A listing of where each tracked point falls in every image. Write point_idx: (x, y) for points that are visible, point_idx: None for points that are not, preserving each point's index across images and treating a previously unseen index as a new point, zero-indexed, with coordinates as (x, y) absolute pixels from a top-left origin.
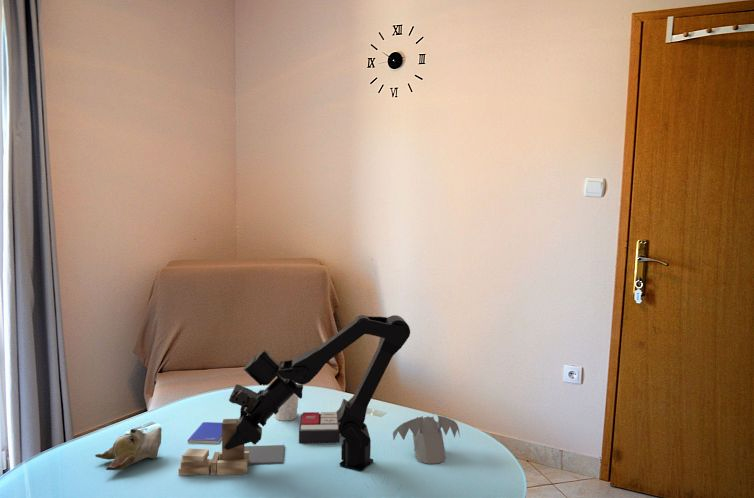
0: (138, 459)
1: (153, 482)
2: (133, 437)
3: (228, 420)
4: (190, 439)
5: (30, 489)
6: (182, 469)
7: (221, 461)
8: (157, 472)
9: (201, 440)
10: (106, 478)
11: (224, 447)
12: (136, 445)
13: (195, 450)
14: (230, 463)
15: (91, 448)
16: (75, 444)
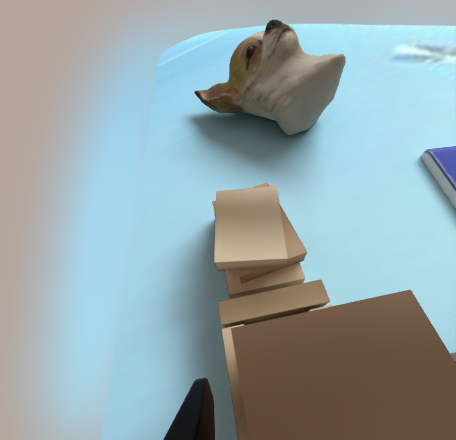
0: (255, 113)
1: (179, 182)
2: (258, 48)
3: (398, 402)
4: (432, 154)
5: (163, 63)
6: (215, 217)
7: None
8: (228, 169)
9: (450, 183)
10: (196, 111)
11: (197, 381)
12: (248, 75)
13: (265, 212)
14: (234, 401)
15: (304, 47)
16: (311, 29)
